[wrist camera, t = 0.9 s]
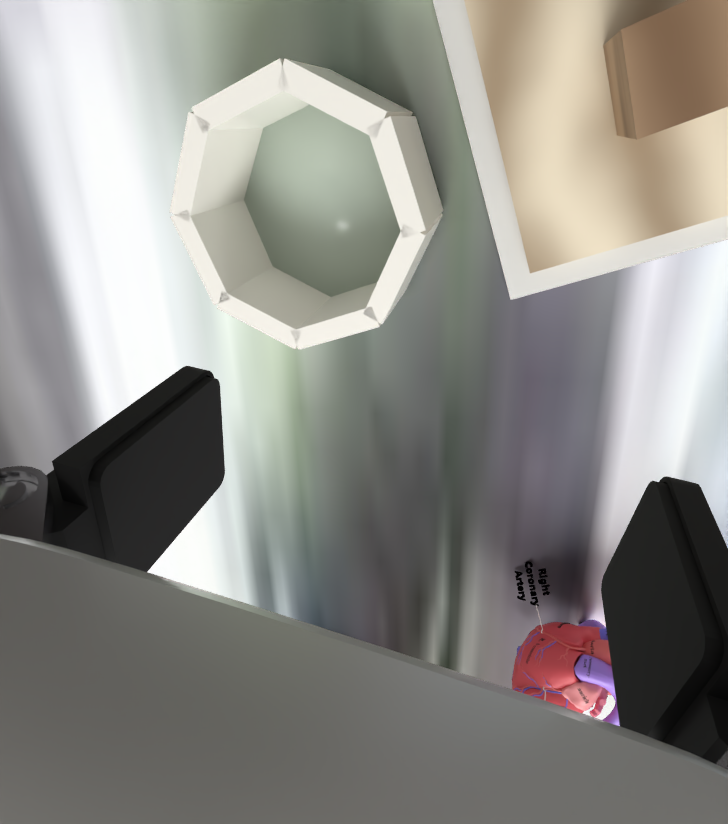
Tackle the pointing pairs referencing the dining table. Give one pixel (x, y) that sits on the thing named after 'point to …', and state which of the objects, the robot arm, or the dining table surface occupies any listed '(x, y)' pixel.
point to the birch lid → (606, 117)
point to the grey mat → (498, 191)
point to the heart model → (565, 662)
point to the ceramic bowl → (304, 202)
